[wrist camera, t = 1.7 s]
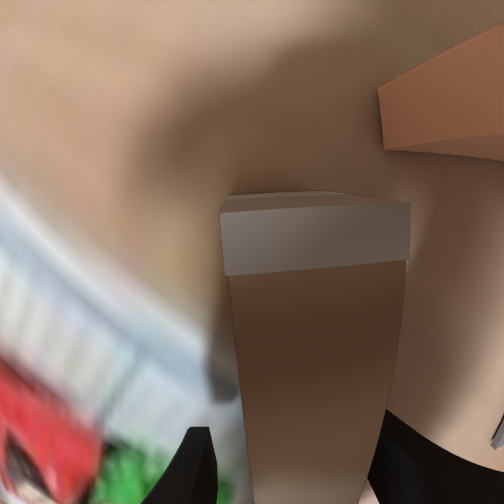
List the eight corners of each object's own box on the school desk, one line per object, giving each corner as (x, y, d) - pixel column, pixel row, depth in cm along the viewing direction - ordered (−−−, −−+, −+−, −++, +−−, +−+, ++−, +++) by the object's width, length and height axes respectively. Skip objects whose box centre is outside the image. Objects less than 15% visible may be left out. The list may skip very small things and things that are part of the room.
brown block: (308, 500, 12) (326, 576, 7) (257, 506, 12) (266, 585, 7) (318, 190, 9) (410, 203, 4) (227, 195, 9) (219, 213, 4)
